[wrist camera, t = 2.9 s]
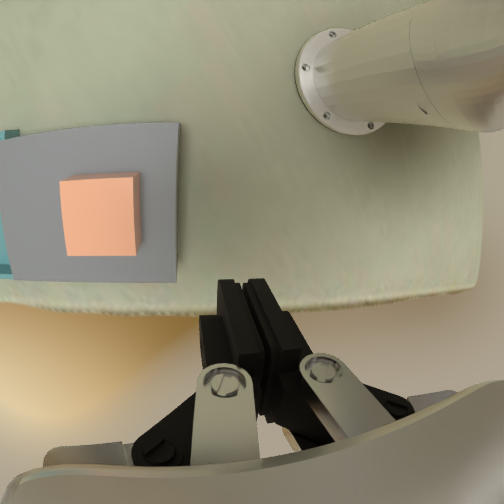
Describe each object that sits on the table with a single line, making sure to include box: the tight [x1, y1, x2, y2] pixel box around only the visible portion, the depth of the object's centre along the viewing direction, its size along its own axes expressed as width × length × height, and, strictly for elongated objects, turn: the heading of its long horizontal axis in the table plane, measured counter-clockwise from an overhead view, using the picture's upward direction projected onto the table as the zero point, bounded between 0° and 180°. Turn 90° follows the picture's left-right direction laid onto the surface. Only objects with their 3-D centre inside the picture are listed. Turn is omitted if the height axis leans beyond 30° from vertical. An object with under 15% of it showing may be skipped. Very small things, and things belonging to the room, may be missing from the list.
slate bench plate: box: [0, 122, 181, 283], centre depth 23 cm, size 18×14×5 cm
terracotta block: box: [59, 172, 141, 256], centre depth 21 cm, size 6×6×3 cm
